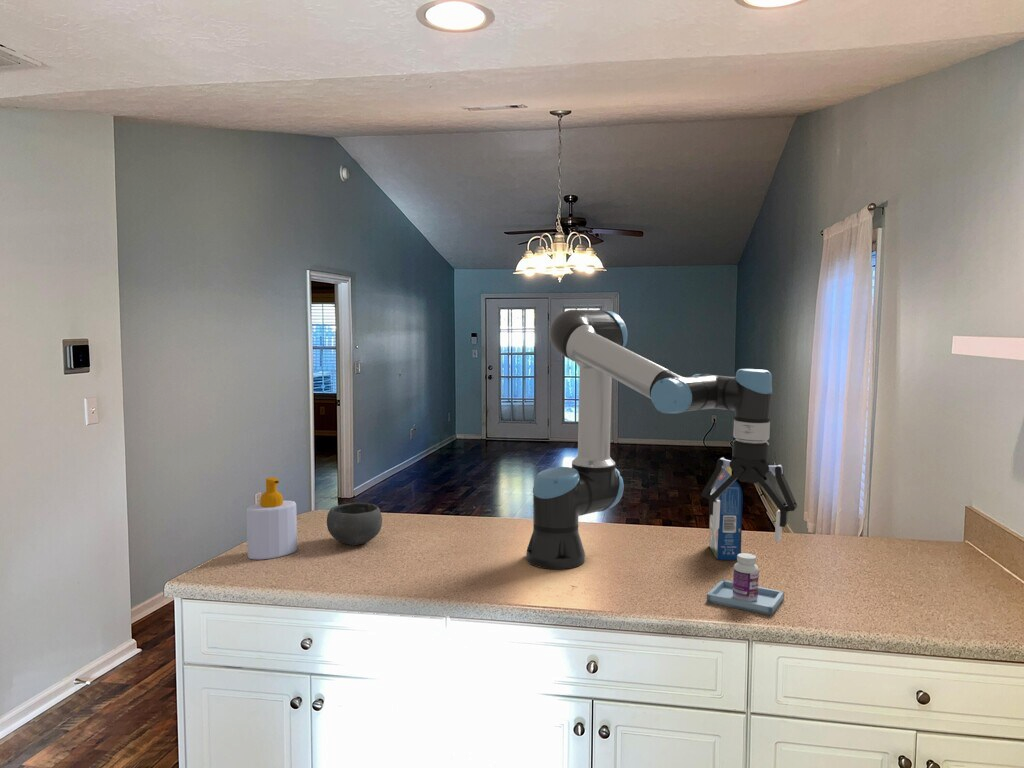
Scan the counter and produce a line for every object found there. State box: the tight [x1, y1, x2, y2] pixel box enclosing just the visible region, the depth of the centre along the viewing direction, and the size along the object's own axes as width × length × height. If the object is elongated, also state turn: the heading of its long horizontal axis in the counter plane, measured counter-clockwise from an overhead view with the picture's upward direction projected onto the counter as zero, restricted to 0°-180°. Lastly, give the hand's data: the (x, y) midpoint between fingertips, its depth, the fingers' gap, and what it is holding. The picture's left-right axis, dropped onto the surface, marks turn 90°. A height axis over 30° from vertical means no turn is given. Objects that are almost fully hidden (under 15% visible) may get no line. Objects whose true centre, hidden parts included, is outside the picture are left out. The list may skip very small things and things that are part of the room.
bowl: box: [326, 502, 383, 546], centre depth 204 cm, size 15×15×10 cm
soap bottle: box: [246, 476, 298, 561], centre depth 193 cm, size 13×8×20 cm, turn 131°
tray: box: [706, 579, 785, 617], centre depth 163 cm, size 14×11×2 cm
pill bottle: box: [732, 552, 760, 602], centre depth 162 cm, size 5×5×10 cm
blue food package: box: [708, 466, 744, 561], centre depth 195 cm, size 6×12×25 cm, turn 175°
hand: (746, 535), depth 162 cm, fingers open, 13 cm apart
